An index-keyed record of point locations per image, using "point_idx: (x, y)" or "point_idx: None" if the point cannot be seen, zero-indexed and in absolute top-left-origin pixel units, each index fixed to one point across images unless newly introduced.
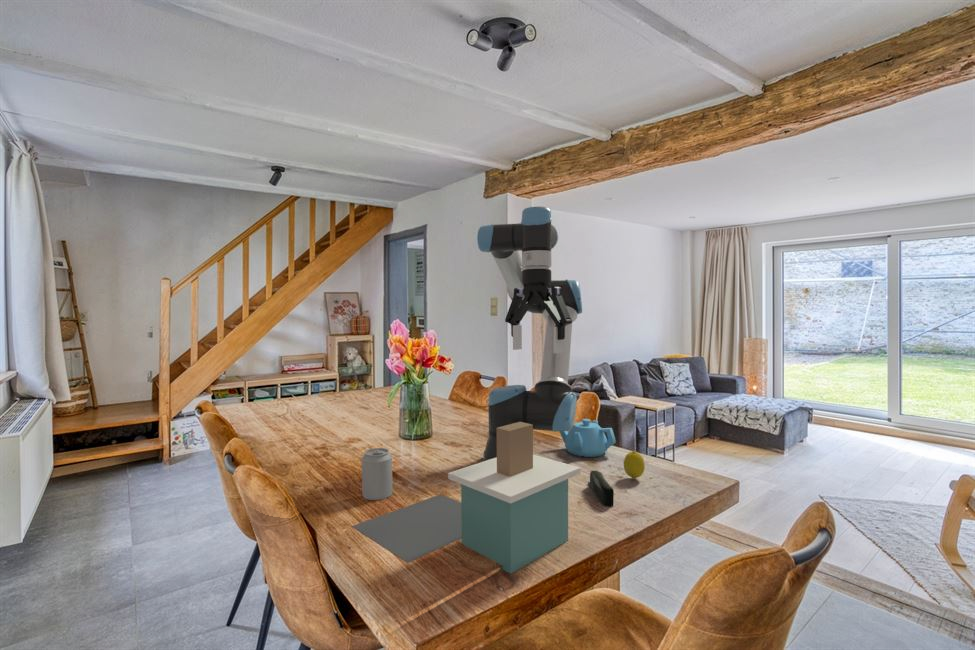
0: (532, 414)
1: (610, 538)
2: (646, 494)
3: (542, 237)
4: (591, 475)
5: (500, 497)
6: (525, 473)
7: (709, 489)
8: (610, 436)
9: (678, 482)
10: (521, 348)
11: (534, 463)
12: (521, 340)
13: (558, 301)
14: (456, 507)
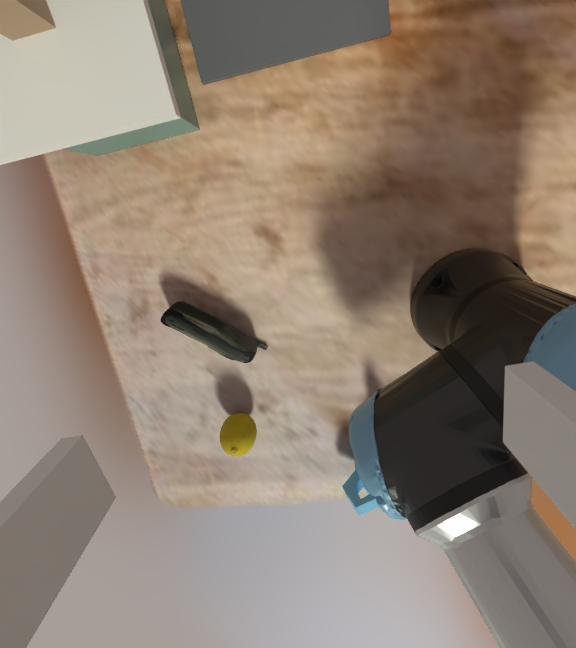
0: (431, 369)
1: (78, 223)
2: (184, 386)
3: None
4: (241, 344)
5: None
6: None
7: (157, 464)
8: (351, 494)
9: (198, 454)
10: (506, 443)
11: (48, 73)
12: (558, 506)
13: None
14: (302, 24)
